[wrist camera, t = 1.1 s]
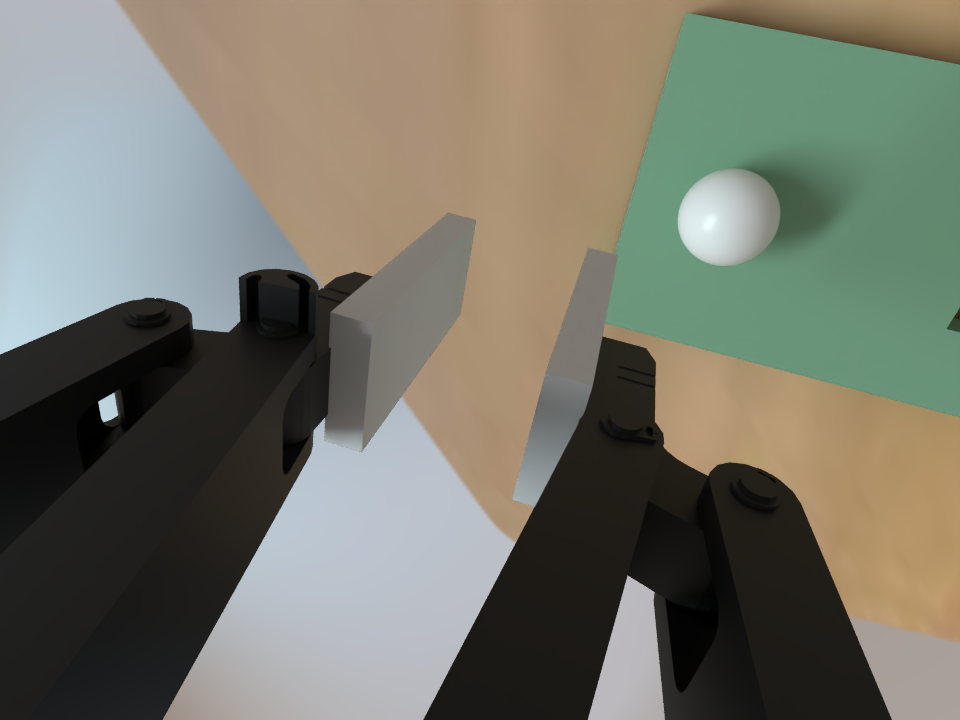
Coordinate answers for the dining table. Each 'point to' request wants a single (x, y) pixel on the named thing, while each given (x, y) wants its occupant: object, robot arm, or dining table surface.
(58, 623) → the robot arm
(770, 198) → the ball
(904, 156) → the green
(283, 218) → the dining table surface
